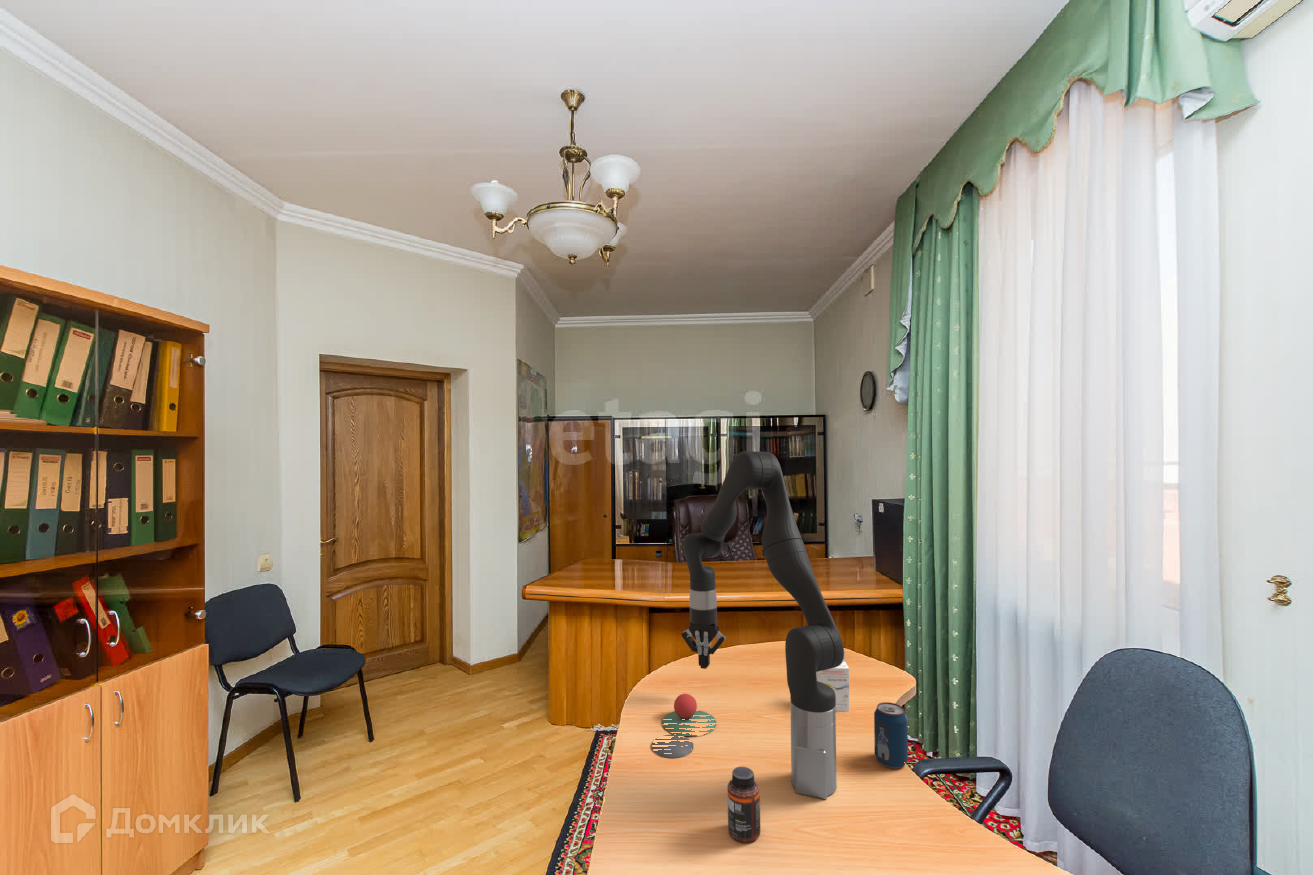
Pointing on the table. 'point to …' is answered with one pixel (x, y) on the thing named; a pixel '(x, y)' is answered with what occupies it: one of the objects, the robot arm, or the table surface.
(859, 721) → the table surface
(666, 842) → the table surface
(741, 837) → the supplement bottle
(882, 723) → the soda can
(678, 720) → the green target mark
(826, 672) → the ink cartridge box
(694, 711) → the ball
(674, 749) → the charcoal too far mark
